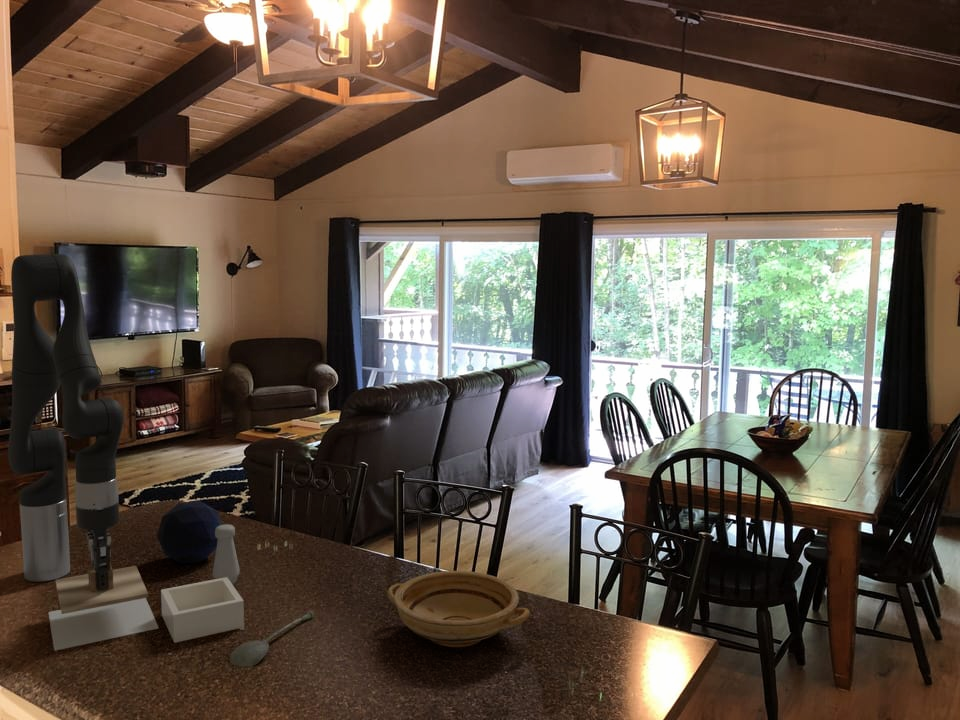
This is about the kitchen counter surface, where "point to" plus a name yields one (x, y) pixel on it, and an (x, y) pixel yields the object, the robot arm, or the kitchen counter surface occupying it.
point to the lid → (84, 594)
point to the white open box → (202, 609)
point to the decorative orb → (189, 532)
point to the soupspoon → (258, 647)
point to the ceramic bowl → (457, 606)
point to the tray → (100, 623)
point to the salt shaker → (225, 554)
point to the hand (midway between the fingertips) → (101, 584)
